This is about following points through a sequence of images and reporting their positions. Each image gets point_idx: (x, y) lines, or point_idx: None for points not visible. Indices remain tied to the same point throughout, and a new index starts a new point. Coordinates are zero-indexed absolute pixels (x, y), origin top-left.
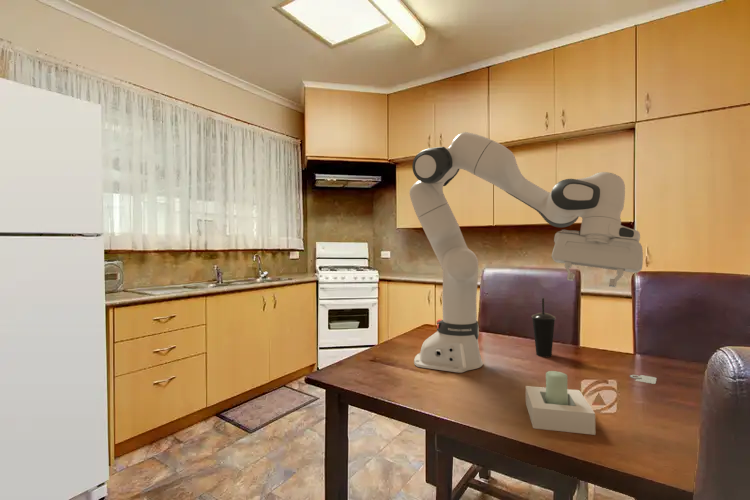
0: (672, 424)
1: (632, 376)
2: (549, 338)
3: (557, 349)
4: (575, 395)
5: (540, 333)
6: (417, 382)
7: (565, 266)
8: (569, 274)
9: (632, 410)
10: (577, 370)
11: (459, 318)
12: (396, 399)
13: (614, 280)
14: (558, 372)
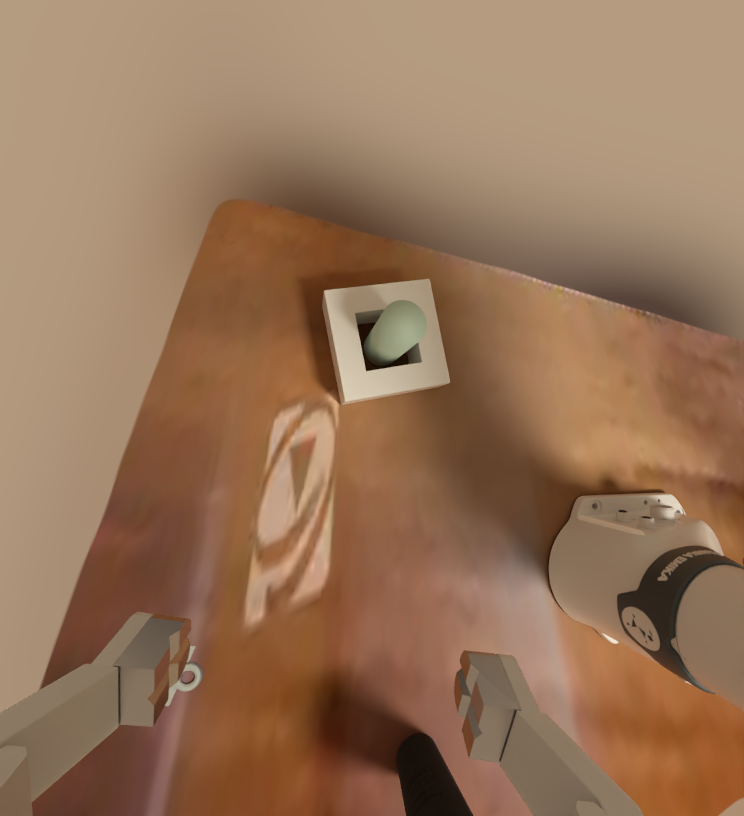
0: (177, 400)
1: (195, 672)
2: (420, 798)
3: None
4: (354, 367)
5: (454, 803)
6: (633, 408)
7: (618, 789)
8: (517, 689)
9: (240, 439)
10: (331, 655)
11: (736, 577)
12: (635, 320)
13: (122, 653)
14: (399, 338)
